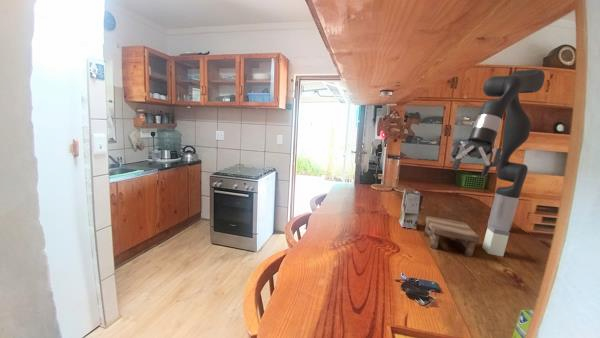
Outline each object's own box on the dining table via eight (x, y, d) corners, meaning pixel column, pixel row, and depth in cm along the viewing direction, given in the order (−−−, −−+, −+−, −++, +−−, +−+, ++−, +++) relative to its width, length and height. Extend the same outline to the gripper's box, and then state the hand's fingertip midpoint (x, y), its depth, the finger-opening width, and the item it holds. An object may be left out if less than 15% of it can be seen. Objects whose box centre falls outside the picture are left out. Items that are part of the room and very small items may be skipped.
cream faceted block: (482, 247, 105) (488, 224, 103) (496, 250, 104) (502, 226, 102) (488, 253, 100) (494, 229, 98) (503, 256, 99) (509, 232, 97)
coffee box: (416, 230, 115) (423, 195, 112) (401, 227, 116) (408, 193, 114) (412, 223, 124) (418, 190, 121) (398, 220, 125) (404, 188, 122)
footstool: (422, 233, 113) (426, 215, 111) (460, 240, 109) (465, 222, 108) (430, 248, 98) (434, 228, 97) (474, 257, 95) (479, 237, 93)
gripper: (511, 137, 89) (494, 181, 89) (465, 131, 99) (449, 170, 99) (508, 129, 84) (490, 176, 84) (460, 123, 94) (443, 165, 94)
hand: (468, 173), depth 91 cm, fingers open, 8 cm apart
